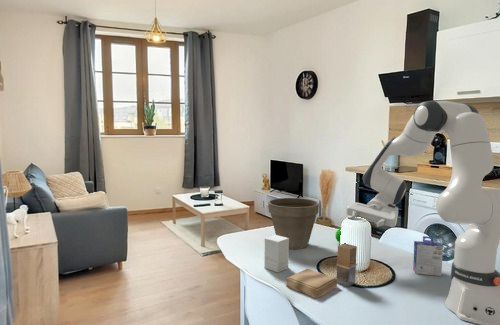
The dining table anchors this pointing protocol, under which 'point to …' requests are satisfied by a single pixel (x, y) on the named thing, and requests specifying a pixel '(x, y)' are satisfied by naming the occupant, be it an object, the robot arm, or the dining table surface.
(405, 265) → the dining table surface
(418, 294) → the dining table surface
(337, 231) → the ornament
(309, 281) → the oak plinth
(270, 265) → the supplement box
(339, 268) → the block
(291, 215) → the plant pot
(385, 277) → the dining table surface
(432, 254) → the ink cartridge box
